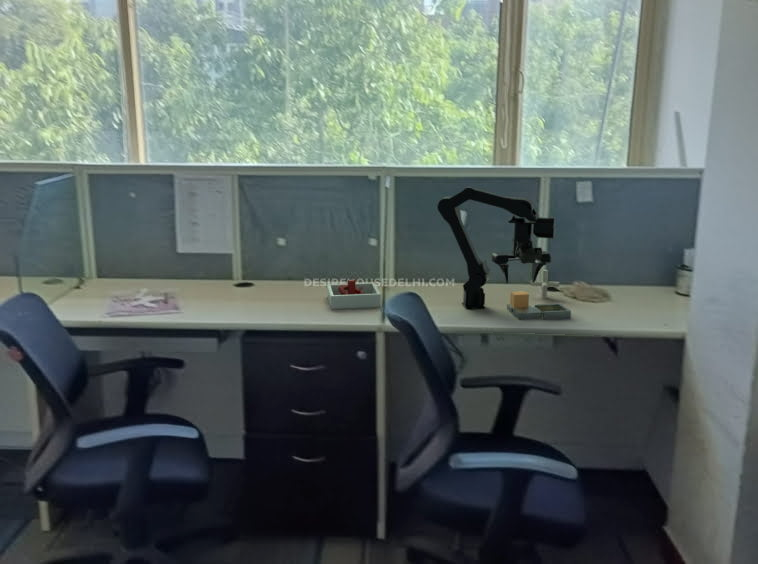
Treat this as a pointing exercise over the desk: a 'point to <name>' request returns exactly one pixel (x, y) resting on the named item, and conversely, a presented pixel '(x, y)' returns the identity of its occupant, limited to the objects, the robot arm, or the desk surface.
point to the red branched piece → (349, 288)
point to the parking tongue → (512, 307)
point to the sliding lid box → (543, 312)
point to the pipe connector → (544, 284)
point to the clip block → (519, 299)
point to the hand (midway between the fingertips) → (520, 282)
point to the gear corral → (354, 296)
